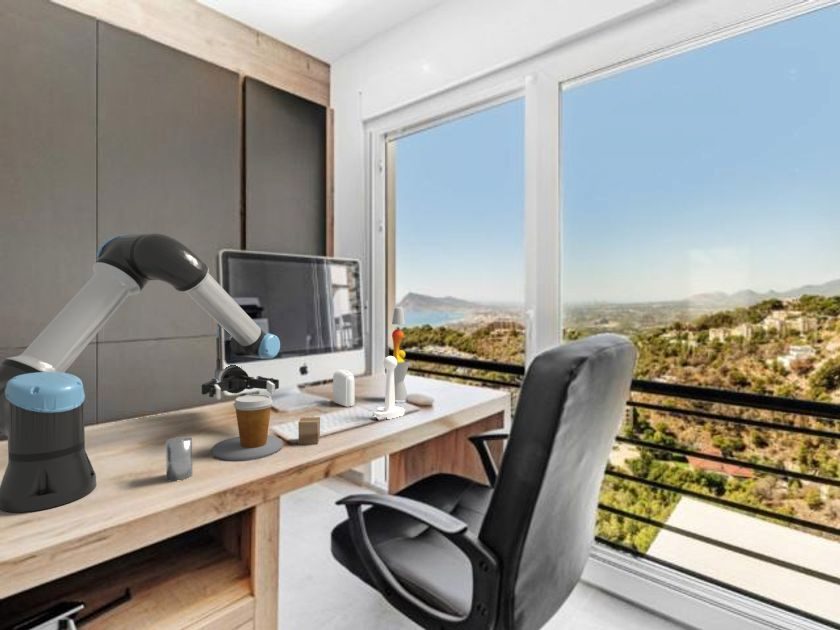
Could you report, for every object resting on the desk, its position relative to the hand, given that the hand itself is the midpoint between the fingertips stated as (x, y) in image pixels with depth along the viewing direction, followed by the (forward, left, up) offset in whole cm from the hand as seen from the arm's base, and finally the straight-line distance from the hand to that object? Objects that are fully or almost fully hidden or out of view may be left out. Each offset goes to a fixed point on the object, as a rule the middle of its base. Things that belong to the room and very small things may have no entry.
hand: (247, 391), depth 121 cm
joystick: (+37, -26, -14) cm, 47 cm away
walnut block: (+7, -14, -14) cm, 21 cm away
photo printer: (+48, -6, -14) cm, 50 cm away
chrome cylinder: (-23, +1, -14) cm, 27 cm away
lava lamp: (+59, -23, -14) cm, 65 cm away
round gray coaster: (-3, -2, -14) cm, 15 cm away
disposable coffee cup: (-2, -3, -13) cm, 14 cm away
